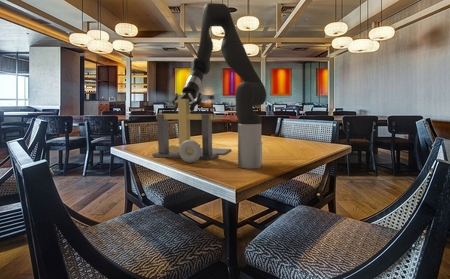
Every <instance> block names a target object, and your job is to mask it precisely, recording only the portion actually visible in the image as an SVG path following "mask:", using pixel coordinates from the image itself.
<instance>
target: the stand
mask: <svg viewBox="0 0 450 279" xmlns="http://www.w3.org/2000/svg"><path fill="white" fill-rule="evenodd" d="M156 114H157V119H156V120H157V122H156V124H157V146H158V151H157V152H154V153H152V154H151V157H152V156H154V157H153V158H162V157H169V158H168V159H179V158H181V156H180V153H179V152H170V151H169V146H170V140H169V139H170V137H169V135H170V134H169V119H164V118H163V114H164V113H156ZM201 114H202V120H201V137H202V139H201V140H202V141H201V142H202V143H201V145H202V147H201V148H202V152H201V156H200V158H199V159H198V160H201V161H212V160H215V159H216V158H217V157H218V156H219V155H218V153H212V148H213V119H212V120H209V114H210V113H201ZM187 153H188V154H189V155H193V153H194V152H193V153H190V152H187ZM181 160H183V159H182V158H181ZM198 160H197V161H198Z"/></svg>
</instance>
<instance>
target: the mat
mask: <svg viewBox="0 0 450 279" xmlns="http://www.w3.org/2000/svg"><path fill="white" fill-rule="evenodd" d="M231 151H232V149H231V148H218V147H217V148H216V147H215V148H214V147H212V153H218V156H224V155H226V154H229V152H231ZM201 152H202V147H201Z"/></svg>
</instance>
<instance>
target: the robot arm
mask: <svg viewBox="0 0 450 279" xmlns="http://www.w3.org/2000/svg"><path fill="white" fill-rule="evenodd" d="M211 27H221V28H222V30H223V32H224V35H223V38H222V41H221V44H220V46H221V47H220V50H221V53H222V55H223V58H224V61H225V63H226V64H227V66H228V67H229V68H230V69H231V70H232V71H233V72H234V73H235V74H236V75H237V76H238V77H239V78H240V79H241V80H242V82H240V83H238V85H237V86H236V89H235V113H236V118H237V167H238V168H241V169H246V170H247V169H249V170H250V169H261V167H262V165H263V141H262V122H263V121H262V116H261V115H259V114H257V113H256V112H255V111H254V107H260V106H262V105H264V103H265V102H266V100H267V90H266V87H265V84H264V83H263V81H262V80H261V78H260V77H259V75H258V73H257V71H256V70H255V68H254V66H253V64H252V62H251V60H250V57H249V56H248V53H247V51H246V49H245V46H244V44H243V43H242V40H241V38H240V36H239V34H238V31H237V29H236V27H235V24H234V21H233V17H232V14H231V11H230V9H229V7H228V5H226V4H225V3H220V2H219V3H214V2H208V3H206V4H205V5H204V7H203V11H202V16H201V25H200V38H199V45H198V49H197V52H196V57H194V58H192V60H191V61H190V73H189V74H188V77H187V79H186V81H185V83H184V86H183V88H182V92H181V93H180V94H178V92H176V93H175V94H174V95H173V98H172V99H171V102H172V105H173V106H172V110H173V112H177V110H178V99H189V103H191V104H190V112H194V111H195V107H197V106H200V105H201V103H202V100H203V95H202V93H201V92H200V88H201V85H202V82H203V79H204V75H206V76H207V75H208V74H209V73H210V70H211V55H212V53H213V48H214V42H213V40H212V37H211V35H210V30H211ZM195 99H196V100H195Z"/></svg>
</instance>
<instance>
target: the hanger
mask: <svg viewBox="0 0 450 279" xmlns="http://www.w3.org/2000/svg"><path fill="white" fill-rule="evenodd" d="M177 103H178V108H177V110H178V112H177V113H162V114H163V118H164V119H168V120H177V121H178V143H176V144H175V143H174V144H173V145H169V151H170V152H179V148H180V146H181V144H182V143H183V142H184V141H186V140H191V120H192V121H193V120H197V121H198V120H201V121H202V114H203V113H190V112H191V111H190V106H191V104H190V102H189V99H178V102H177ZM157 114H158V113H156V115H155V118H156V120H157ZM208 114H209V120H212V121H213V120H214V113H208ZM198 144H199V145H200V147H201V144H200V143H198ZM201 148H202V147H201ZM187 152H190V153H193V152H194V151H193V149H192V148H188V149H187Z"/></svg>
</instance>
